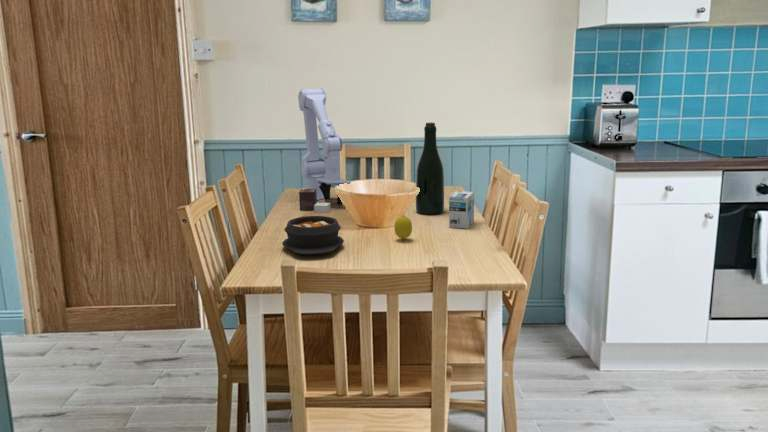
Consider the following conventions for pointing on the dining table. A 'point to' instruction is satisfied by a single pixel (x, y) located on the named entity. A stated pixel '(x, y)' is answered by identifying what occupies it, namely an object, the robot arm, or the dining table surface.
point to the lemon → (403, 227)
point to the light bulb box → (461, 209)
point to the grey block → (322, 208)
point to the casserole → (312, 235)
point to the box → (307, 199)
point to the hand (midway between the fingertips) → (333, 203)
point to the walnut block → (333, 203)
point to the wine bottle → (430, 176)
